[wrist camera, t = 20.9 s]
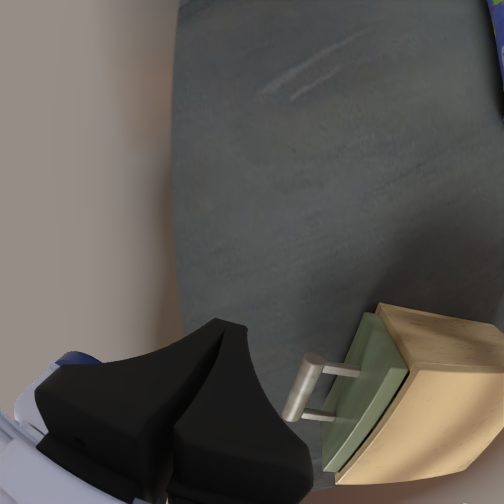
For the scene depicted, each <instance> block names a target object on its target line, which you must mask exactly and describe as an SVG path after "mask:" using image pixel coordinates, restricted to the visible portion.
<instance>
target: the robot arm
mask: <svg viewBox="0 0 504 504" xmlns="http://www.w3.org/2000/svg"><path fill="white" fill-rule="evenodd" d="M247 331H248V329H247V327H246V326H244V325H240V324H236V323H232V322H228V321H224V320H220V319H217V318H214V319H213V320H211V321H209V322H208V323H207V324H205V325H204V326H202V327H201V328H199V329H197V330H196V331H194V332H193V333H191V334H189V335H188V336H186V337H184V338H182V339H181V340H179V341H177V342H175V343H173V344H171V345H169V346H167V347H164V348H162V349H159V350H157V351H154V352H151V353H148V354H145V355H142V356H138V357H133V358H129V359H126V360H120V361H114V362H107V363H98V364H62V365H61V366H59V365H58V364H56V363H54V362H52V361H50V362H49V369H48V370H47V371H45V372H44V373H43V374H42V375H41V376H40V377H39V378H37V380H35V381H34V382H33V383H32V384H31V385H30V386H28V387H27V388H26V389H25V390H24V391H23V392H22V393H21V394H20V395H19V397H18V399H17V400H16V403H15V406H14V417H15V420H12V419H11V418H10V417H9V416H8V415H7V414H5V413H4V412H3V411H2V410H1V409H0V504H166V501H167V498H168V504H299V502H300V501H302V499H303V498H304V497H305V496H306V495H307V494H308V493H309V492H310V491H311V489H312V487H313V480H314V475H313V467H312V462H311V457H310V453H309V449H308V446H307V445H306V444H305V443H304V442H303V441H302V440H301V439H300V438H299V437H298V436H297V435H296V434H295V433H294V432H293V431H292V430H291V429H290V428H289V427H288V426H287V425H286V424H285V423H284V421H283V420H282V419H281V418H280V416H279V415H278V413H277V412H276V410H275V409H274V407H273V406H272V405H271V403H270V402H269V400H268V398H267V396H266V395H265V393H264V391H263V389H262V387H261V385H260V383H259V380H258V378H257V376H256V373H255V370H254V367H253V364H252V361H251V357H250V353H249V348H248V341H247ZM464 504H468V503H464Z"/></svg>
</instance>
